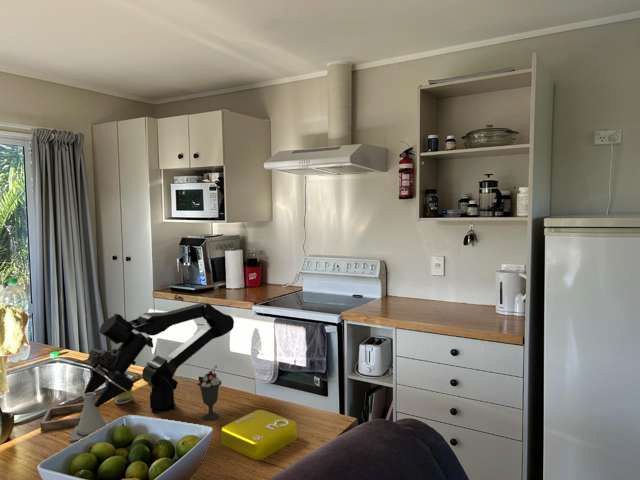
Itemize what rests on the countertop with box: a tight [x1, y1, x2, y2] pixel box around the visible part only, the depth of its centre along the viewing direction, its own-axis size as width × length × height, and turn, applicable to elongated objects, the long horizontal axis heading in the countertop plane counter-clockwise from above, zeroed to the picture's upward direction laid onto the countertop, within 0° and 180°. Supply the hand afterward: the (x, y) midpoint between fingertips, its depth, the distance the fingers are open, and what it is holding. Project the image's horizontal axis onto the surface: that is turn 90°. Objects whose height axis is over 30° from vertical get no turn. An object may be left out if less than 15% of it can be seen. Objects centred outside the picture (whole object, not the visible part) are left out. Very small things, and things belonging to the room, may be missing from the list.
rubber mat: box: [69, 420, 111, 443], centre depth 130 cm, size 9×9×1 cm
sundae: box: [197, 365, 222, 422], centre depth 137 cm, size 7×7×15 cm
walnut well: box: [40, 402, 84, 431], centre depth 138 cm, size 11×11×2 cm
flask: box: [76, 391, 106, 435], centre depth 130 cm, size 7×7×10 cm
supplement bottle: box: [113, 368, 133, 405], centre depth 150 cm, size 5×5×10 cm
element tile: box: [220, 409, 298, 461], centre depth 124 cm, size 15×15×5 cm
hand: (89, 401), depth 130 cm, fingers open, 9 cm apart
